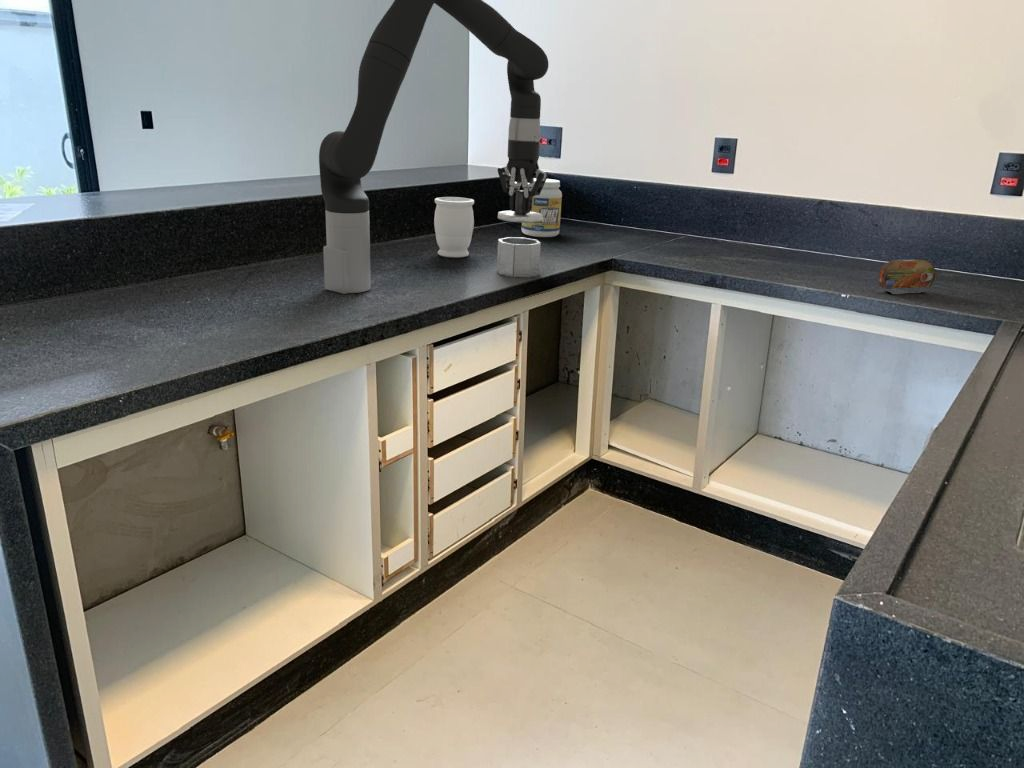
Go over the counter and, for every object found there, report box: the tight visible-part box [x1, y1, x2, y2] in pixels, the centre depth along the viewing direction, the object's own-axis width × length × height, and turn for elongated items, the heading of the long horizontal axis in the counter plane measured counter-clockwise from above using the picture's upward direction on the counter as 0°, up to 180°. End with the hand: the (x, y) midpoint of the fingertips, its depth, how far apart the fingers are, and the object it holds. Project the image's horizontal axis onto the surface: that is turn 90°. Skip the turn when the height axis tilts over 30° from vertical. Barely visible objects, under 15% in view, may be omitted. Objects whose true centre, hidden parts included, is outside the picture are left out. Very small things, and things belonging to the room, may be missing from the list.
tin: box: [878, 259, 936, 289], centre depth 196 cm, size 15×3×8 cm, turn 105°
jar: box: [433, 196, 475, 259], centre depth 213 cm, size 11×10×15 cm
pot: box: [496, 236, 542, 279], centre depth 197 cm, size 10×10×8 cm
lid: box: [497, 189, 543, 224], centre depth 192 cm, size 11×11×7 cm
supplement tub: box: [521, 177, 563, 238], centre depth 249 cm, size 12×12×17 cm
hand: (520, 211), depth 193 cm, fingers closed on lid, 3 cm apart
